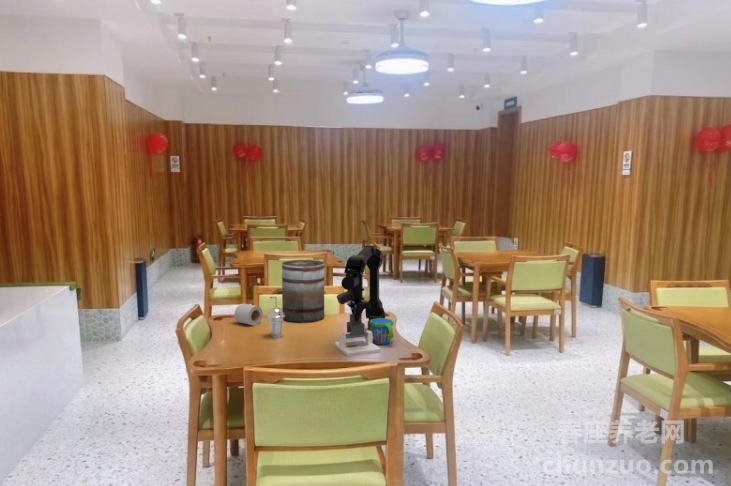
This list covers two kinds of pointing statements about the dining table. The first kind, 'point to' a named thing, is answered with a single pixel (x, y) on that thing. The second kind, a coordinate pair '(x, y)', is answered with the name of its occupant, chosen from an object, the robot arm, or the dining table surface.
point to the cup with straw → (276, 320)
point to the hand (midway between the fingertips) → (355, 320)
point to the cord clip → (355, 326)
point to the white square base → (360, 350)
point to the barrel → (303, 291)
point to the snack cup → (381, 330)
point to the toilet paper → (248, 314)
